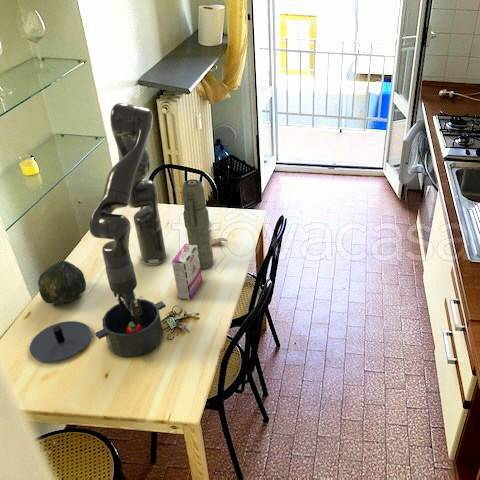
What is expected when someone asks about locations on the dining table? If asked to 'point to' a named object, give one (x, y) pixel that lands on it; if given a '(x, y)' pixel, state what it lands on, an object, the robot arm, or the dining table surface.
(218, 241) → the jawbone
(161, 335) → the pot
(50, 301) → the squash
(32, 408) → the dining table surface
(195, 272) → the candy bar box
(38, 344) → the lid
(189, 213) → the thermos
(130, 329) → the strawberry
